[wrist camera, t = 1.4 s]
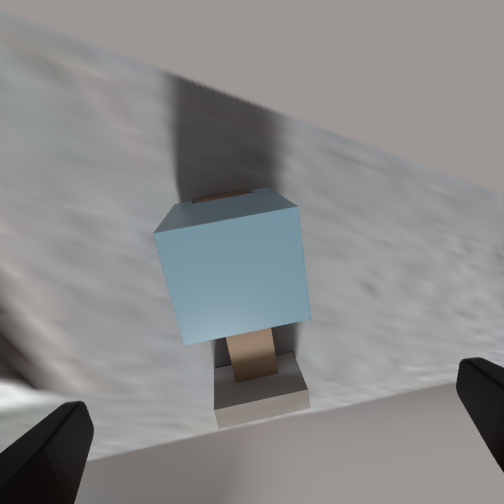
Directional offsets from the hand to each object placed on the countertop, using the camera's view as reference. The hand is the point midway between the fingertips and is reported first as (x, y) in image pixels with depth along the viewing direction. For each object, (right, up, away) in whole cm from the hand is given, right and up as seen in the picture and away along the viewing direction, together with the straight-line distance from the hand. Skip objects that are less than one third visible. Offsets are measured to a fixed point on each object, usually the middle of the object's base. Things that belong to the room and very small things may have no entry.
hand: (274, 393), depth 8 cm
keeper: (-2, +4, +12) cm, 13 cm away
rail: (-1, +1, +14) cm, 14 cm away
